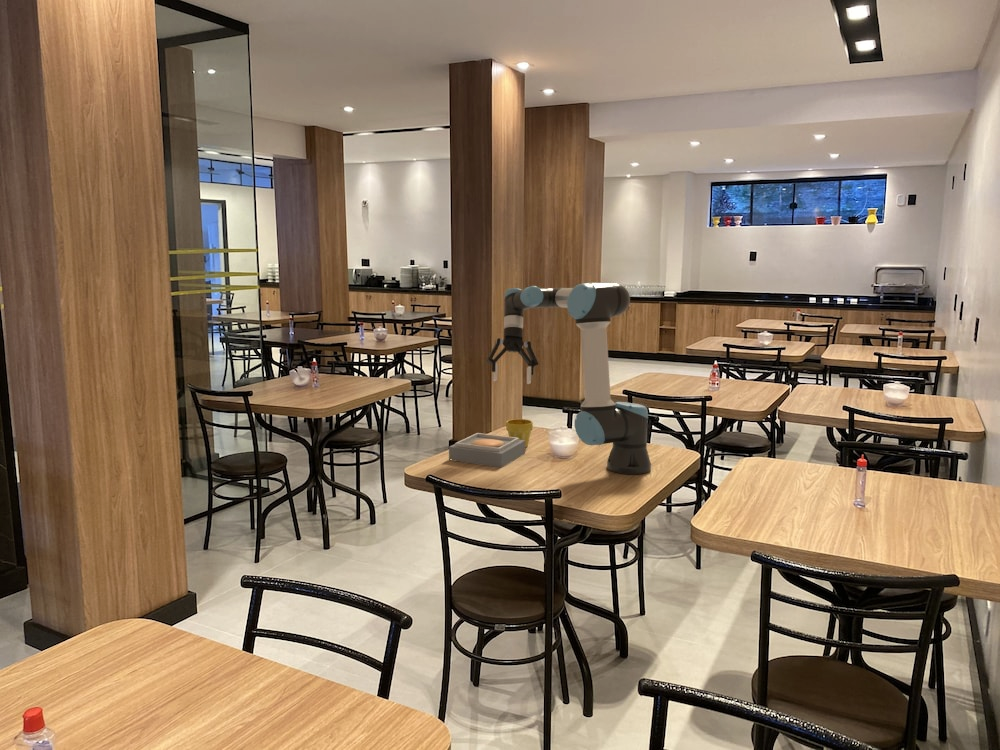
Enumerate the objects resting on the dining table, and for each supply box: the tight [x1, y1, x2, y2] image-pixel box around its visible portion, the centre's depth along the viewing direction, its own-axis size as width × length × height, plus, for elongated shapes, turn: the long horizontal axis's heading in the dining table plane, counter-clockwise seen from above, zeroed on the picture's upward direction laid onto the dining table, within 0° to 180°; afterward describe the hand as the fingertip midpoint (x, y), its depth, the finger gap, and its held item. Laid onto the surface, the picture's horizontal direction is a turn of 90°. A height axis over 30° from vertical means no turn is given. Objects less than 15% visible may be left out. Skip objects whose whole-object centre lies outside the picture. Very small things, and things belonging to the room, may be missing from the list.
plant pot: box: [505, 418, 534, 448], centre depth 284 cm, size 10×10×10 cm
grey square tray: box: [448, 432, 526, 468], centre depth 268 cm, size 21×21×6 cm
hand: (512, 382), depth 279 cm, fingers open, 13 cm apart
